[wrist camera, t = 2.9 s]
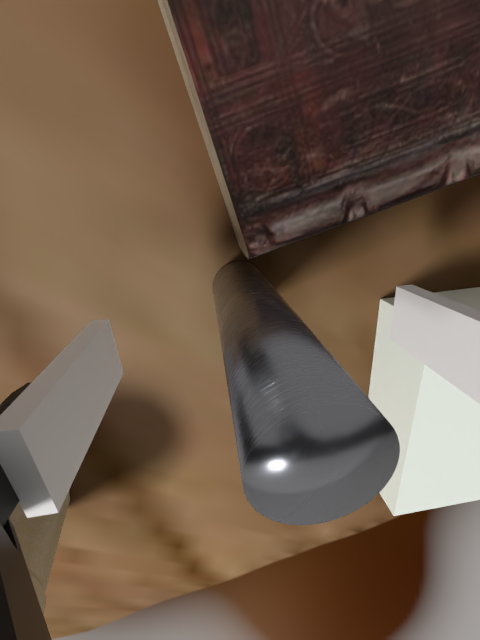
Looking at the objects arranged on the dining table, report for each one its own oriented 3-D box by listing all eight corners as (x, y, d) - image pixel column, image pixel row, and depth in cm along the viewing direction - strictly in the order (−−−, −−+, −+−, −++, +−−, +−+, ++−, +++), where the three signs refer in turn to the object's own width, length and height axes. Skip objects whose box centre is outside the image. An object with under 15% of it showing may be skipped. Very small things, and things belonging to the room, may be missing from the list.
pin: (209, 263, 18) (236, 420, 5) (263, 258, 18) (411, 393, 6) (215, 314, 19) (247, 537, 7) (265, 308, 20) (389, 509, 7)
